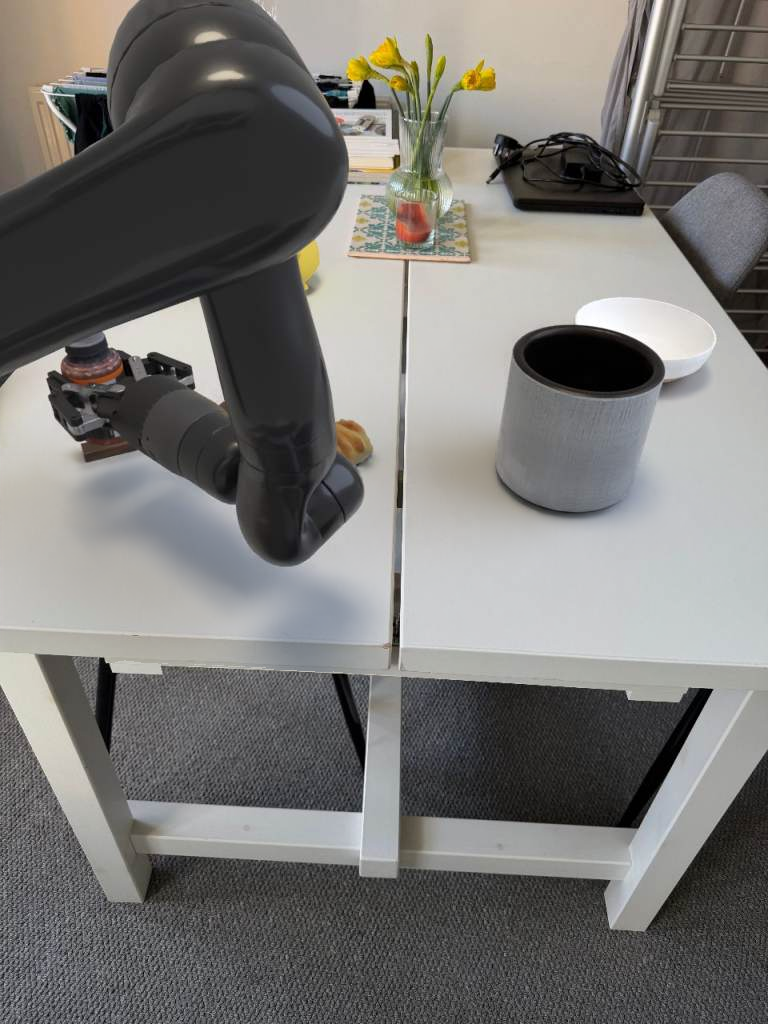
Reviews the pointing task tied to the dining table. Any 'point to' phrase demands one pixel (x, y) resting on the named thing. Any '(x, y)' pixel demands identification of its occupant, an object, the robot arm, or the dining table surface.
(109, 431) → the supplement bottle
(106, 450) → the spoon
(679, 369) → the bowl
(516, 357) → the planter
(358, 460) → the pastry
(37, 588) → the dining table surface
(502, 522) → the dining table surface
